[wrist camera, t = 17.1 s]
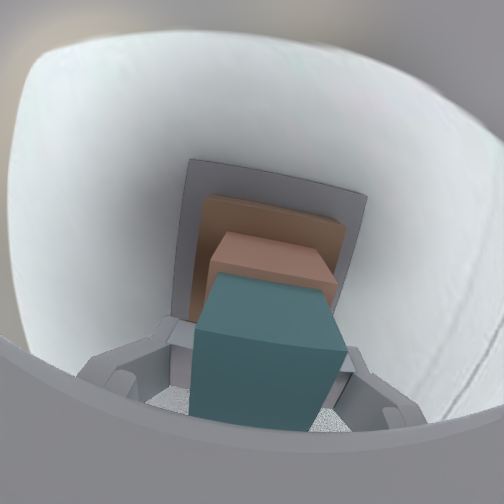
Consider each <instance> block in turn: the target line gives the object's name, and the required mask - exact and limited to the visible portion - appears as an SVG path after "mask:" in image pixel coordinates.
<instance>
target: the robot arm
mask: <svg viewBox="0 0 504 504" xmlns="http://www.w3.org/2000/svg"><path fill="white" fill-rule="evenodd" d="M196 324H197V323H196V322H192V321H188V320H184V319H179V318H176V317H172V316H168V315H167V316H165V317H164V318H163V320H162V321H161V323H160V324H159V326H158V328H157V329H156V331H155V332H154V334H153V336H152V337H151V339H149V338H145V339H142V340H139V341H137V342H134V343H131V344H128V345H126V346H123V347H120V348H117V349H114V350H111V351H108V352H105V353H102V354H100V355H97V356H94V357H91V359H90V360H89V361H88V362H87V364H86V365H85V366H84V367H83V369H82V370H81V371H80V372H79V374H78V375H77V376H76V377H75V376H73V375H71V374H68V373H66V372H64V371H62V370H60V369H58V368H56V367H54V366H52V365H50V364H49V363H47V362H45V361H43V360H41V359H39V358H37V357H36V356H34V355H32V354H30V353H29V352H27V351H25V350H24V349H22V348H20V347H19V346H17V345H16V344H14V343H12V342H11V341H9V340H8V339H6V338H4V337H3V336H2V335H0V504H504V404H503V405H500V406H497V407H494V408H491V409H488V410H484V411H481V412H478V413H474V414H470V415H467V416H463V417H459V418H454V419H450V420H445V421H441V422H436V423H430V424H428V423H427V421H426V419H425V417H424V415H423V413H422V412H421V410H420V408H419V406H418V404H416V403H415V402H413V401H412V400H411V399H409V398H408V397H406V396H405V395H403V394H402V393H400V392H399V391H398V390H396V389H395V388H393V387H392V386H390V385H389V384H388V383H386V382H385V381H383V380H382V379H381V378H379V377H378V376H376V375H375V374H374V373H370V372H369V370H368V368H367V366H366V364H365V362H364V360H363V358H362V355H361V353H360V351H359V349H358V348H357V347H347V346H346V347H347V349H348V353H347V356H346V358H345V360H344V362H343V364H342V367H341V369H340V371H339V373H338V375H337V377H336V379H335V382H334V384H333V386H332V388H331V390H330V392H329V394H328V396H327V398H326V400H325V402H324V403H323V405H322V407H321V408H330V409H333V410H334V411H335V412H336V414H337V415H338V416H339V417H340V418H341V419H342V420H343V421H344V423H345V424H346V425H347V426H348V427H349V428H350V429H351V430H352V432H305V431H287V430H275V429H265V428H256V427H249V426H242V425H235V424H229V423H223V422H217V421H212V420H207V419H202V418H198V417H193V416H189V415H185V414H181V413H177V412H173V411H169V410H166V409H162V408H158V407H155V406H152V405H148V404H145V402H146V401H148V400H149V399H151V398H152V397H154V396H155V395H157V394H158V393H160V392H161V391H163V390H164V389H166V388H167V387H169V385H173V386H177V387H182V388H186V389H190V382H191V368H192V355H193V343H194V331H195V327H196Z"/></svg>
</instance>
